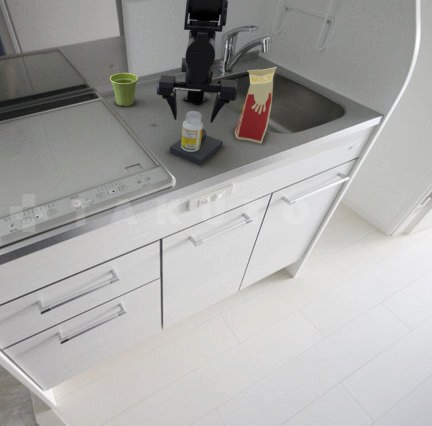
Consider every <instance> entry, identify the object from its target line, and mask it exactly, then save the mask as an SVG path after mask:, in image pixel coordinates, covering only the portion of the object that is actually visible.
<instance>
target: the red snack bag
mask: <svg viewBox="0 0 432 426" xmlns="http://www.w3.org/2000/svg"><path fill="white" fill-rule="evenodd" d="M277 68H278V66H273V67H268V68H264V69H249V70H247V69H246V72H248V74H249V87H248V90H247V93H246V97H245V99H244V103H243V107H242V109H241V111H240V115H239V118H238V121H237V124H236V126H235V130H234V135H235V137H236V140H242V141H248V142H252V143H257V144H261V145H262V144H263V140H264V137H265V136H266V133H267V129H268V126H269V121H270V116H271V110H272V103H273V95H274V90H273V89H274V76H275V73H276V70H277Z"/></svg>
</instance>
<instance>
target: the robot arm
mask: <svg viewBox="0 0 432 426" xmlns="http://www.w3.org/2000/svg"><path fill="white" fill-rule="evenodd" d="M228 7H229V0H186V3H185V14H184V24H183V31H188V42H187V45H186V50H185V57H182V58H181V68H180V72H181V73H185V79H184V81H180V80H179V81H178V80H177V81H176V76H175V75H165V74H161V75H160V76H159V78H158V80H157V83H156V95H158V96H161V98H162V99H163V100H166V102H167V104H168V106H169V108H170V110H171V113H172V116H173V120H174V121H177V118H178V106H177V91H183V92H187V95H186V97H184V98H183V102H187V103H191V104H193V105H196V106H199V105H202V104H203V103H204V102H206V101H207V100H208V97H205V93H210V94H211V93H212V94H216V96H215V99H214V100H215V101H214V104H213V108H212V111H211V115H210V121H209V123H210V124H212V123H213V122H214V120H215V119H216V117H217V116H218V115H219V112H220V111H221V110H222V108H223V107H224V106H225V105H226V104H227V105H229V104H230V103H231V101H232V102H233V101H236V100H237V96H238V83H237V81H236V80H234V79H225V78H224V79H221V78H220V80H219V83H212V80H213V74H214V71H213V68H212V67H213V64H214V62H215V60H216V38H217V33H222V32H223V27H226V25H227V17H228Z"/></svg>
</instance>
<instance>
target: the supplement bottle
mask: <svg viewBox="0 0 432 426" xmlns="http://www.w3.org/2000/svg"><path fill="white" fill-rule="evenodd" d="M202 118H203V115H202V113H201V112H199V111H196V110H191V111H187V112H186V114H185V120H184V121H183V122H182V127H181V128H182V129H181V139H180V140H181V148H182V149H183V150H185V151H187V152H195V151H197V150H199V148H200V144H201V137H202V130H203V129H204V123H203V121H202Z"/></svg>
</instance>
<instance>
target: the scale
mask: <svg viewBox="0 0 432 426" xmlns="http://www.w3.org/2000/svg"><path fill="white" fill-rule="evenodd" d="M223 143H224V141H223V140H220V139H217V138H215V137H212V136H209V135H207V131H206V129H204V128H203V130H202V137H201V144H200V148H199V150H197V151H195V152H187V151H185V150H183V149H182V148H181V139H179V140H178V141H176V142H175V143H173V144H172V145H171V146H170V147H169V153H170V154H172V155H174V156H176V157H178V158H181V159H183V160H186V161H189V162H190V163H193V164H195V165H197V166H202V165H203V164H204V163H205V162H207V160H208V159H210V158H211V157H212V156H213V155H215V154H216V153H217V152H218V151H219V150H220V149H221V148H222V147H223Z"/></svg>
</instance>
